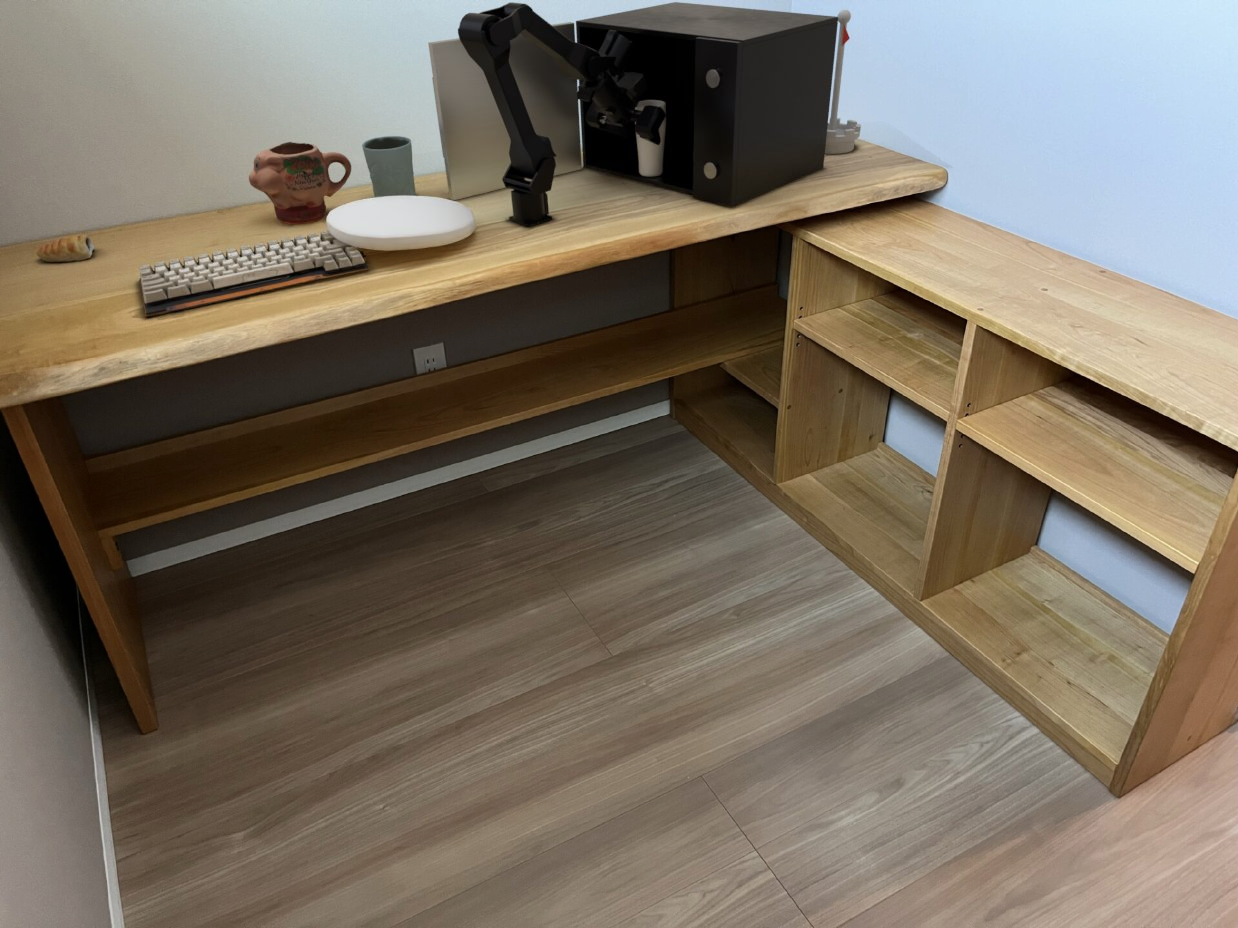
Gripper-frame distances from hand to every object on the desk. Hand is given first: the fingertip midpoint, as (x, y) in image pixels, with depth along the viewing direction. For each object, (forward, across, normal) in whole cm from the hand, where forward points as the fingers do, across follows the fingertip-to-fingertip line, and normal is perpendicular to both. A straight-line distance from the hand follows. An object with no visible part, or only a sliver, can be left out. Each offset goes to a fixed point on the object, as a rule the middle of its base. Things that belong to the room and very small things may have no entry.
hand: (643, 140), depth 194 cm
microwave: (+15, -5, -3) cm, 16 cm away
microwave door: (-8, +23, +20) cm, 31 cm away
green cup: (-24, +33, +37) cm, 55 cm away
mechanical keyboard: (-53, +17, +66) cm, 87 cm away
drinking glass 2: (+6, -1, +5) cm, 8 cm away
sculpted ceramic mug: (-37, +38, +50) cm, 73 cm away
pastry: (-66, +54, +79) cm, 116 cm away
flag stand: (+39, -19, -27) cm, 51 cm away
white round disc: (-35, +10, +46) cm, 59 cm away
